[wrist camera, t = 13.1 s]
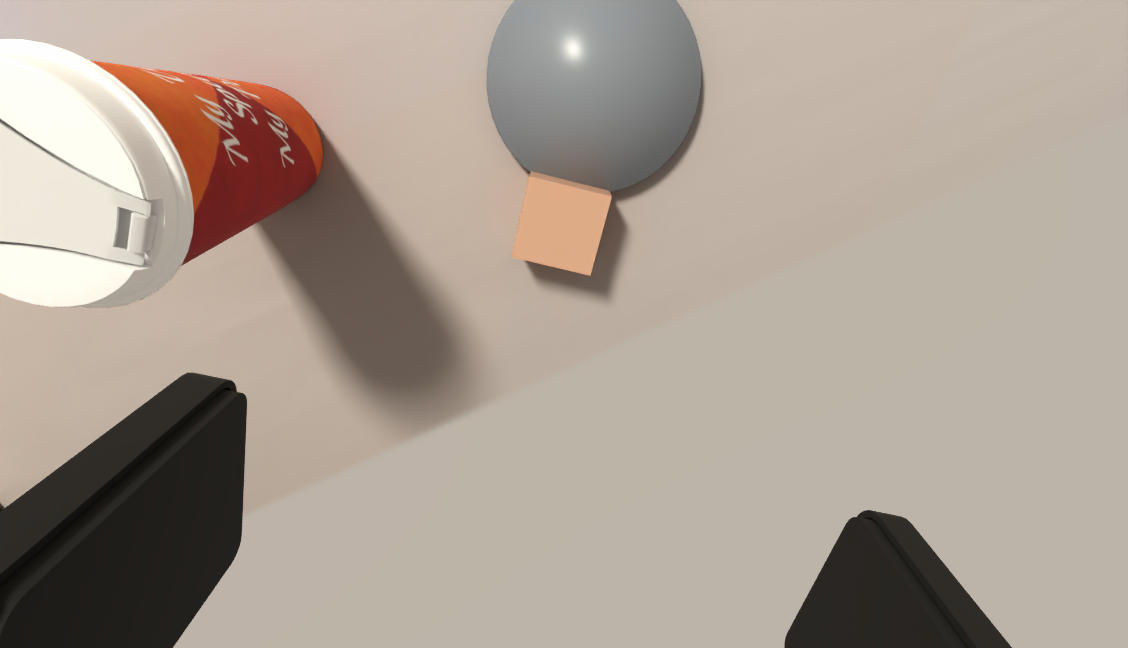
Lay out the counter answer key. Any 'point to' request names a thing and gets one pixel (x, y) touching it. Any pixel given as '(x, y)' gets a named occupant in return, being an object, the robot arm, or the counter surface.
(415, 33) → the counter surface
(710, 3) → the counter surface
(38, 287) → the paper cup
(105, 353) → the counter surface
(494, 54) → the gray paddle
